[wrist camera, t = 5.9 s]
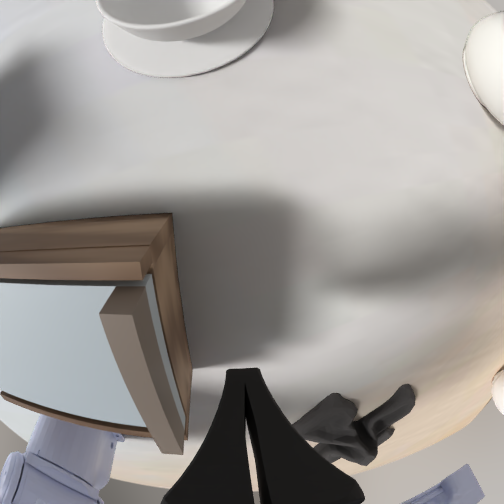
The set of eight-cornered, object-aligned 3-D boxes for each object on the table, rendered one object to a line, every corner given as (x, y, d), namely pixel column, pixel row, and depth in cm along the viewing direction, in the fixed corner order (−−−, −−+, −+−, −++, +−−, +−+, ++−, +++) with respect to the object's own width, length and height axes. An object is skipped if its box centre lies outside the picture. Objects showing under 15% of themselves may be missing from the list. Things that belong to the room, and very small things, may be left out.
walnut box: (192, 369, 19) (187, 440, 13) (33, 352, 17) (4, 399, 12) (172, 212, 15) (139, 260, 9) (-11, 229, 13) (-64, 263, 7)
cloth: (280, 396, 22) (293, 452, 17) (435, 358, 24) (462, 393, 18) (271, 473, 31) (277, 505, 25) (379, 447, 32) (391, 474, 27)
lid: (185, 416, 14) (183, 454, 11) (6, 382, 12) (-7, 405, 10) (151, 273, 10) (132, 314, 7) (-47, 271, 9) (-71, 291, 6)
